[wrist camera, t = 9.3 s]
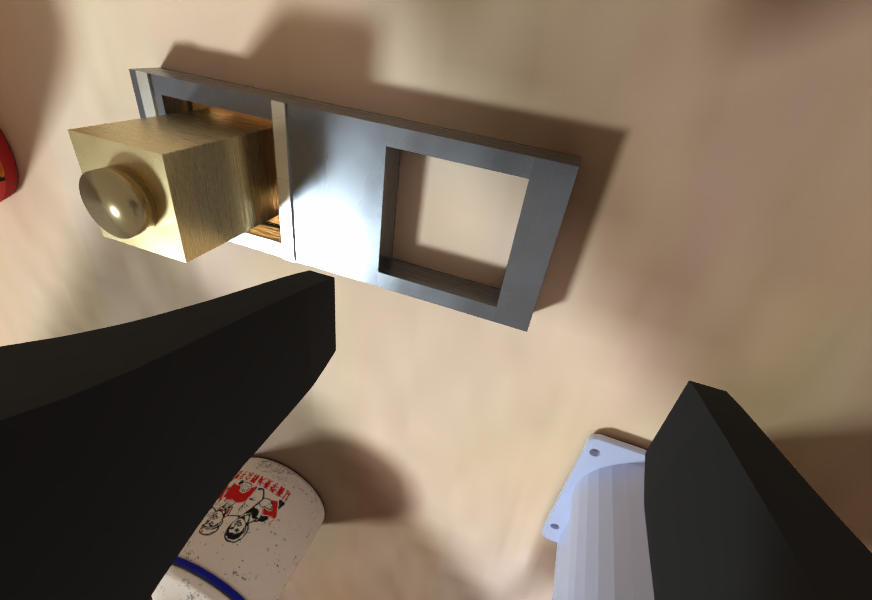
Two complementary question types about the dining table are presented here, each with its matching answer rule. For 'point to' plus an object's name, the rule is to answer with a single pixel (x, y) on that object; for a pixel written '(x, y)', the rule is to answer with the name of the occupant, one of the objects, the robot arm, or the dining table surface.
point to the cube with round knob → (178, 180)
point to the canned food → (7, 170)
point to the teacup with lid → (247, 538)
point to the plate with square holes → (374, 190)
